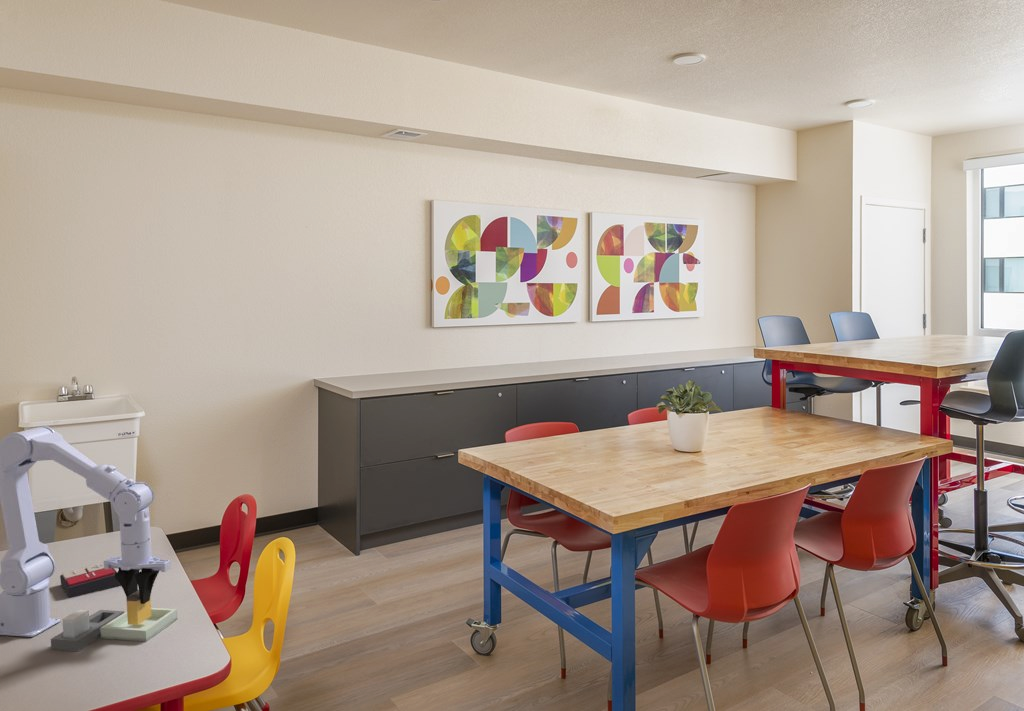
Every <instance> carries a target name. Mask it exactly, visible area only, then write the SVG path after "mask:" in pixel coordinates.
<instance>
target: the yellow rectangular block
mask: <svg viewBox="0 0 1024 711" xmlns="http://www.w3.org/2000/svg"><path fill="white" fill-rule="evenodd" d="M125 597H126V596H125ZM151 601H152V600H151V597H150V600H149V601H148V602H146V603H145V604H141V602H140V596H139V589H138V591H136V592H134V593H133V594H131V595H129V596H128V597H126V611H127V617H128V624H131V625H139V624H140V623H142V622H143V621H145V620H146V619H148V618H149V617H151V608H152V603H151Z"/></svg>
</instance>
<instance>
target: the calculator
mask: <svg viewBox="0 0 1024 711" xmlns="http://www.w3.org/2000/svg"><path fill="white" fill-rule="evenodd" d="M118 571H119V569H117V568H110V569H104V561H103V562H98V563H95V564H92V565H88V566H85V568H84V567H80V568H76V569H73V570H69V571H65V572H62V573H61V575H60V576H59V579H60V586H61V588H62V589H63V590H64V593H65V594H66V596H67V597H68V598H69V599H71V598H75V597H80V596H84V595H87V594H92V593H95V592H99V591H100V592H101V591H103V590H107V589H110V588H114V587H122V586H121V585H120V583H119V582H118V580H117V579H116V578H115V573H117V572H118Z"/></svg>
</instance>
